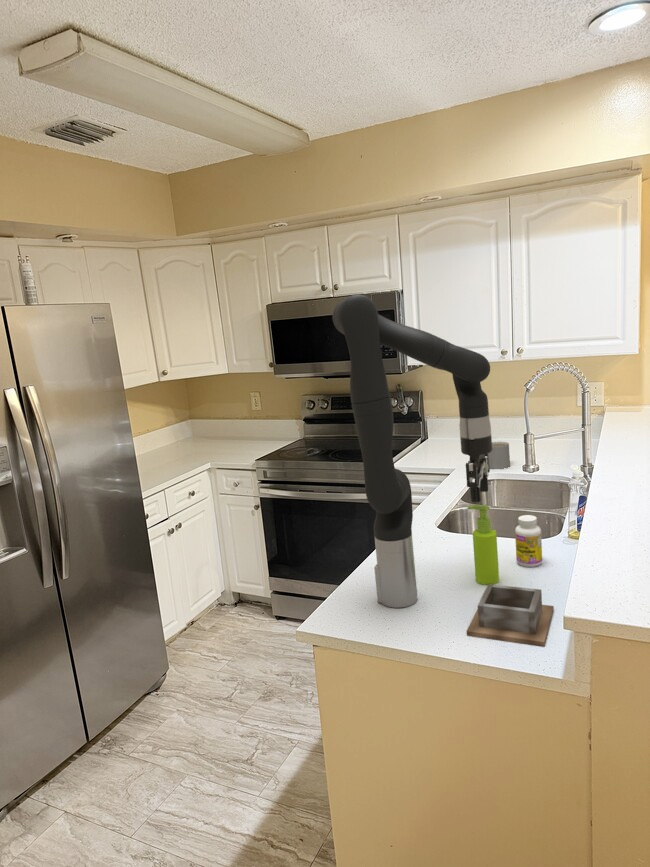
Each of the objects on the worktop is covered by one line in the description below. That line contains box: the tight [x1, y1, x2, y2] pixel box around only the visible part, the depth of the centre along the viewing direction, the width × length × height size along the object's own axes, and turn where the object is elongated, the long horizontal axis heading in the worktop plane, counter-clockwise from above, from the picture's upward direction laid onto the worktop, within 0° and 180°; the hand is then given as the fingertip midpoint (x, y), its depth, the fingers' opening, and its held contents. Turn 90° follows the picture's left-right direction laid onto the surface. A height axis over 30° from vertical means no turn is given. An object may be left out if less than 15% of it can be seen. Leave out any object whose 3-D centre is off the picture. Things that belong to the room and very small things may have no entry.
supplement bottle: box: [514, 514, 543, 568], centre depth 162 cm, size 7×7×13 cm
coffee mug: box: [488, 441, 511, 470], centre depth 262 cm, size 13×10×10 cm
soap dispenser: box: [466, 504, 500, 586], centre depth 154 cm, size 6×7×20 cm
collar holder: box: [466, 584, 555, 647], centre depth 134 cm, size 16×16×6 cm
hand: (480, 496), depth 152 cm, fingers open, 8 cm apart
